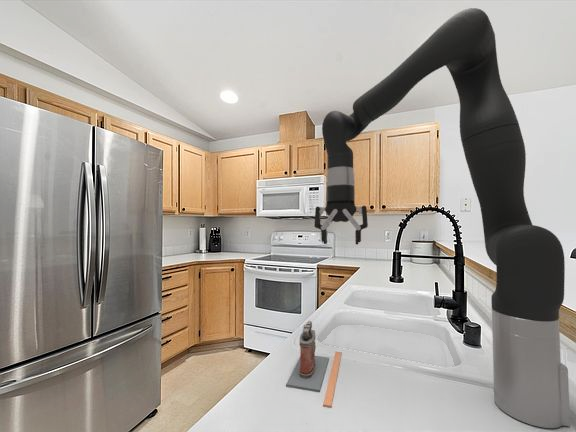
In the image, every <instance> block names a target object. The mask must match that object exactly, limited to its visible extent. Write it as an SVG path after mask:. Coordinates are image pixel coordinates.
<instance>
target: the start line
mask: <svg viewBox="0 0 576 432" xmlns="http://www.w3.org/2000/svg"><path fill="white" fill-rule="evenodd" d="M341 358H342V351H335V353H334V356H333V360H332V361H333V362H332V365H331V370H330V374H329V379H328V382H327V386H326V390H325V395H324V399H323V404H322V407H326V408H332V405H333V400H334V395H335V389H336V385H337V379H338V375H339V368H340V363H341Z"/></svg>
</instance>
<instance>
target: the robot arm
mask: <svg viewBox="0 0 576 432" xmlns="http://www.w3.org/2000/svg"><path fill="white" fill-rule="evenodd" d="M443 67H446V68H447V70H448V72H449V73H450V75H451V78H452V81H453V83H454V86H455V89H456V92H457V96H458V99H459V100H458V101H459V135H460V141H461V146H462V149H463V152H464V153H463V154H464V156H465V161H466V163H467V168H468V171H469V175H470V178H471V182H472V185H473V188H474V192H475V194H476V197H477V200H478V203H479V207H480V213H481V221H482V228H483V236H484V237H483V239H484V247H485V251H486V254H487V256H488V258H489V260H490V261H491V263H493V264H494V265H495V266H496V271H495V273H496V287H495V290H494V292H493V293H492V294H491V324H492V325H491V326H492V327H491V328H492V329H491V330H492V331H491V332H492V337H491V338H492V362H493V365H492V366H493V367H492V368H493V373H492V374H493V398H494V403H495V405H496V406H497V408H499V409H500V410H502V412H504V413H506V414H507V415H508V416H510V417H511V418H514V419H516V420H518V421H519V422H523V423H525V424H528V425H531V426H534V427H539V428H542V429H543V428H545V429H557V428H560V427H562V426H563V427H571V420H570V419H571V417H570V416H571V412H570V389H569V387H570V386H569V369H568V367H567V365H565V364H564V363H562V362H561V360H562V359H561V337H560V335H561V334H560V309H561V306H562V305H563V302H564V299H565V279H566V277H565V270H566V269H565V266H566V263H565V253H564V249H563V245H562V243H561V241H560V239H559V238H558V237H557V236H556V235H555V233H553V232H552V231H550V230H549V229H547V228H545V227H542V226H539V225H533V222H532V220H531V218H530V214H529V211H528V208H527V206H526V200H525V195H524V194H525V192H524V190H525V177H526V176H525V175H526V164H527V162H526V155H527V154H526V147H525V142H524V138H523V134H522V129H521V127H520V123H519V119H518V116H517V115H516V111H515V110H514V108H513V107H514V106H513V105H512V102H511V100H510V98H509V96H508V94H507V93H506V91H505V88H504V86H503V84H502V80H501V75H500V69H499V62H498V54H497V44H496V34H495V31H494V28H493V26H492V23H491V20H490V18H489V16H488V14H487V13H486V12H485V11H484V10H482V9H480V8H475V7H474V8H473V7H471V8H466V9H463V10H461V11H458V12H457V13H455V14H453V15H452V16H451V17H450V18H448V19H447V20H446V21H445V22H443V23H442V24H441V25H440V27H438V28H437V29H436V30H435V31H434V32H433V33H432V34H431V35H430V36H429V37H427V39H426V40H425V41H424V42H423V43H422V44H421V45H420V46H419V47H418V48H416V49H415V50H414V51H413V52H412V53H411V54H410V55H408V57H407V58H406V59H405V60H403V62H402V63H401V64H399V66H397V67H396V68H395V69H394V70H393V71H392V72H391V73H389V74H388V75H387V76H386V77H385V78H383V79H381V81H380V82H378V83H377V84H376V85H374V86H373V87H371V88H370V89H368V90H367V91H365V93H363V94H361V96H359V97H358V98H357V99H355V101H354V102H353V104H352V111H353V112H352V113H351V114H349V115H348V114H346V113H343V112H341V111H339V110H332V111H329V112H328V113H327V114H326V115H325V116H324V119H323V121H322V126H321V127H322V128H321V130H322V131H321V132H322V133H321V134H322V139H323V143H324V146H325V150H326V154H327V175H326V206H324V207H323V206H322V207H320V206H316V207H315V211H314V228H316V229H318V230H320V233H321V235H320V236H321V237H320V240H321V243H323V245H328V230H327V229H328V228H329V226H330V225H331V223H332V222H334V223H339V222H343V223H347V222H349V221H350V223H351V224H352V226H353V227H354V228H355V233H354V234H355V236H354V237H355V245H359V243H361V241H362V230H363V229H366V228H368V226H369V224H368V214H367V213H368V210H367V206H366V205H361V206H356V204H355V203H356V202H355V195H356V194H355V191H356V190H355V184H356V182H355V173H354V151H353V149H352V148H351V147H350V146H349V145H348V144H347V142H350V141H352V140H354V139H355V138H357V137H359V135H360V134H361V133H362V132H363V131H364V130H365V129H367V127H368V126H369V125H370V124H371V123H372V122H374V121H375V120H377V119H378V118H380V117H383V116H384V115H385V114H387V113H388V112H390V111H391V110H393V108H394V107H396V106H397V105H398V104H399V103H401V101H402V100H403V99H404V98H405V97H406V96H407V95H408V93H410V91H411V90H412V89H413V88H414V87H415V86H416V85H417V84H418V83H419V82H421V81H422V80H423V79H425V78H426V77H427V76H429V75H430V74H432V73H434V72H435V71H437V70H439V69H441V68H443ZM357 211H358V213H359V214H360V215H362V218H361V219H362V224H360V225H359V223H358V221H356V219H355V218H354V217H353V216H354V215H355V214H356V212H357ZM324 212H325V213H326V214H327V215H328V217H327V218H326V219H325V221H324V223H323V224H321V217H322V215H324Z"/></svg>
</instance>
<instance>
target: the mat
mask: <svg viewBox="0 0 576 432" xmlns="http://www.w3.org/2000/svg"><path fill="white" fill-rule="evenodd" d="M329 361H330V357H328V356H320V355H315V362H316V367H315V372H314V374H313V376H312V377H311V378H310V379H303V378H301V377H300V376H299V371H300V357H299V358H298V360H297V362H296V364H295V366H294V368H293V370H292V372H291V373H290V376H289V377H288V380H287V382H286V383H285V386H286V387H287V388H293V389H297V390H298V389H300V390H304V391H305V390H306V391H310V392H316V393H317V392H318V393H320V392H321V389H322V387H323V386H322V385H323V381H324V378H325V374H326V371H327V367H328V364H329Z"/></svg>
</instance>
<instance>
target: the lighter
mask: <svg viewBox="0 0 576 432" xmlns="http://www.w3.org/2000/svg"><path fill="white" fill-rule="evenodd" d="M312 327H313V321H311V320H308V321H307V322H305V324H303V327H302V332H301V334H300V336H299V339H298V340H299V343H298V344H299V349H300V350H299V353H300V356H299V358H300V371H299V376H300V377H301V378H303V379H310V378H311V377H312V376H313V374H314V372H315V367H316V362H315V356H316V354H315V353H316V350H317V349H316V348H317V347H316V337H317V336H316V330H314V329H312Z"/></svg>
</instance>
